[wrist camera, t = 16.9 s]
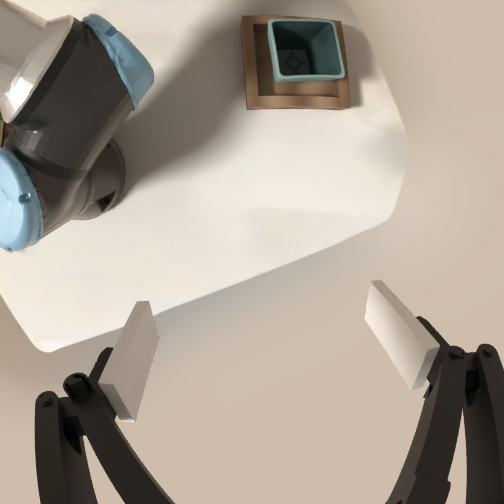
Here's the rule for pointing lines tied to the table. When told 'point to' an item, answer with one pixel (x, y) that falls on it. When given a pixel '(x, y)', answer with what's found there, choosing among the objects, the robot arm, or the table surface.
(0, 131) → the hardback book
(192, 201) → the table surface
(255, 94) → the wooden tray
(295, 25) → the flower pot
